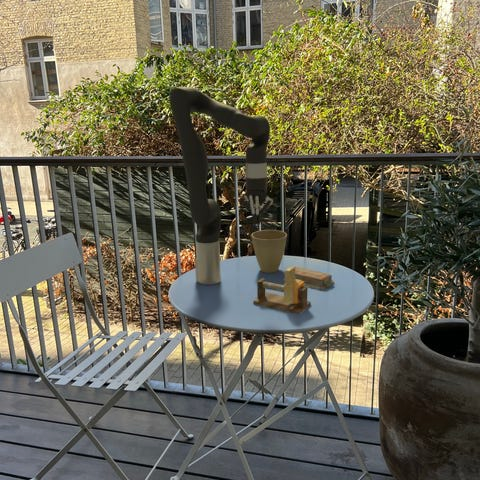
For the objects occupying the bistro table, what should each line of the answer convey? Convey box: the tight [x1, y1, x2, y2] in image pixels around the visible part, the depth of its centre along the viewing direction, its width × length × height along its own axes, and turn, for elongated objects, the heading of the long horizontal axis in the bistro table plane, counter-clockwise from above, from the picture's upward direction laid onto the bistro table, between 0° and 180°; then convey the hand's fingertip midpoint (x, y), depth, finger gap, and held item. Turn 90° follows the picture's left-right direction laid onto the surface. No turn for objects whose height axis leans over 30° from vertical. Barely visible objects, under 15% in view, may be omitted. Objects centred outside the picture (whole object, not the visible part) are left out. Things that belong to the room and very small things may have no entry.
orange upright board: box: [293, 281, 305, 304], centre depth 155 cm, size 1×6×6 cm, turn 148°
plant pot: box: [251, 229, 288, 274], centre depth 193 cm, size 15×15×16 cm
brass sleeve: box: [283, 265, 301, 304], centre depth 156 cm, size 4×6×11 cm, turn 148°
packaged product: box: [283, 266, 335, 291], centre depth 180 cm, size 18×5×10 cm
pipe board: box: [253, 277, 312, 315], centre depth 159 cm, size 18×9×8 cm, turn 58°
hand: (257, 224), depth 162 cm, fingers closed
